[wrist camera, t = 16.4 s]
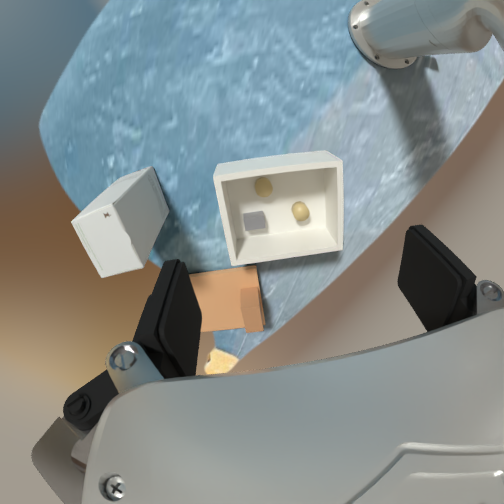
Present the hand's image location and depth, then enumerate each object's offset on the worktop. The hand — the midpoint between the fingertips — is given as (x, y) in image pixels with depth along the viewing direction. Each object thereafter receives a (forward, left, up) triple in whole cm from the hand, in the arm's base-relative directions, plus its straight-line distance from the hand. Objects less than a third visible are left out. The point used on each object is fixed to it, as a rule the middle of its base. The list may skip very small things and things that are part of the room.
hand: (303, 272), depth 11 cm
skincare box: (+18, +4, -31) cm, 36 cm away
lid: (+11, +26, -30) cm, 41 cm away
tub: (-2, +8, -30) cm, 31 cm away
